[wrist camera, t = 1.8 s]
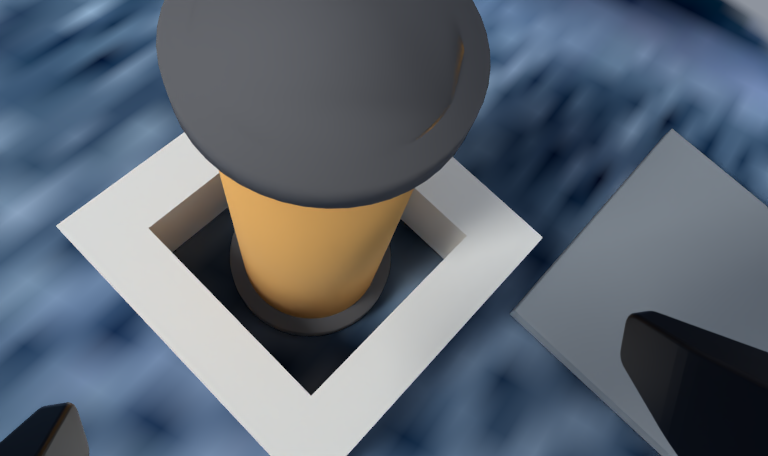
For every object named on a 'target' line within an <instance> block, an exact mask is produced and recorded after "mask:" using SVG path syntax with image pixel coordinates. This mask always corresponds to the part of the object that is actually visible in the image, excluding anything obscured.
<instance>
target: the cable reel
mask: <svg viewBox="0 0 768 456" xmlns="http://www.w3.org/2000/svg"><path fill="white" fill-rule="evenodd" d="M156 48H157V57H158V65H159V68H160V72H161V75H162V79H163V82H164V85H165V88H166V91H167V94H168V97H169V99H170V102H171V105H172V108H173V110H174V113H175V115H176V117H177V119H178V121H179V123H180V125H181V127H182V129H183V130H184V132H185V133H186V135H187V137H188V138H189V140H190V141H191V143H192V144H193V145H194V146H195V147H196V148H197V150H198V151H199V152H200V153H201V154H202V155H203V156H204V157H205V159H206V160H208V161H209V162H210V163H211V164H212V165H213V166H215V167H216V168H217V169H218V170H219V174H220V177H221V181H222V185H223V188H224V192H225V196H226V199H227V203H228V207H229V210H230V214H231V218H232V221H233V225H234V229H235V231H234V234H233V237H232V241H231V247H230V265H231V272H232V275H233V279H234V282H235V285H236V288H237V290H238V292H239V294H240V296H241V298H242V300H243V301H244V303H245V304H246V306H247V307H248V308H249V309H250V310H251V311H252V313H253V314H254V315H256V316H257V317H258V318H259V319H260V320H261V321H263V322H264V323H266V324H267V325H269V326H271V327H273V328H275V329H277V330H279V331H282V332H285V333H288V334H292V335H297V336H308V337H312V336H323V335H328V334H332V333H335V332H338V331H341V330H343V329H345V328H347V327H349V326H351V325H353V324H354V323H356V322H357V321H359V320H360V319H361V318H362V317H363V316H364V315H365V314H367V312H368V311H369V310H370V309H371V308H372V307H373V305H374V304H375V302H376V301H377V299H378V298H379V296H380V294H381V292H382V290H383V288H384V286H385V284H386V281H387V278H388V275H389V270H390V265H391V250H390V241H391V238H392V236H393V234H394V232H395V230H396V227H397V225H398V223H399V221H400V219H401V216H402V214H403V212H404V210H405V207H406V205H407V203H408V201H409V199H410V196H411V194H412V192H413V190H414V188H415V187H417V186H419V185H420V184H422V183H424V182H425V181H427V180H428V179H429V178H431V177H432V176H433V175H434V174H436V173H437V172H438V171H439V170H441V169H442V168H443V167H444V165H445V164H446V163H447V162H448V161H449V160H450V159H451V158H452V157H453V156H454V154H455V153H456V151H457V150H458V148H459V147H460V145H461V144H462V142H463V141H464V139H465V137H466V136H467V134H468V132H469V130H470V128H471V126H472V124H473V123H474V121H475V119H476V117H477V115H478V113H479V110H480V108H481V106H482V104H483V102H484V98H485V95H486V91H487V88H488V84H489V75H490V49H489V43H488V38H487V33H486V30H485V27H484V24H483V21H482V18H481V16H480V14H479V12H478V10H477V8H476V6H475V4H474V2H473V0H165V1H164V3H163V6H162V8H161V12H160V16H159V21H158V25H157V40H156Z"/></svg>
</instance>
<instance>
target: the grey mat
mask: <svg viewBox="0 0 768 456" xmlns="http://www.w3.org/2000/svg"><path fill="white" fill-rule="evenodd" d="M643 311H656V312H658V313H661V314H664V315H667V316H669V317H672V318H675V319H678V320H680V321H683V322H686V323H689V324H691V325H694V326H697V327H700V328H703V329H705V330H708V331H711V332H714V333H716V334H719V335H722V336H725V337H727V338H730V339H733V340H736V341H738V342H741V343H744V344H747V345H749V346H752V347H755V348H758V349H761V350H763V351H766V352H768V207H767V206H766V205H765V204H763V203H762V202H761V201H760V200H759V199H757V198H756V197H755V196H754V195H752V194H751V193H750V192H749V191H748V190H746V189H745V188H744V187H743V186H741V185H740V184H739V183H738V182H737V181H735V180H734V179H733V178H732V177H731V176H729V175H728V174H727V173H726V172H724V171H723V170H722V169H721V168H720V167H718V166H717V165H716V164H715V163H713V162H712V161H711V160H710V159H709V158H707V157H706V156H705V155H704V154H702V153H701V152H700V151H699V150H698V149H696V148H695V147H694V146H693V145H691V144H690V143H689V142H688V141H687V140H685V139H684V138H683V137H682V136H681V135H679V134H678V133H677V132H676V131H674V130H673V129H671V130H670V131H669V132H668V133H667V134H666V135H664V137H663V138H662V139H661V140H660V141H659V142H658V143H657V145H656V146H655V147H654V148H653V149H652V150H651V151H650V153H649V154H648V155H647V156H646V157H645V158H644V160H643V161H642V162H641V163H640V164H639V165H638V166H637V168H636V169H635V170H634V171H633V172H632V173H631V175H630V176H629V177H628V178H627V179H626V180H625V181H624V183H623V184H622V185H621V186H620V187H619V188H618V189H617V191H616V192H615V193H614V194H613V195H612V196H611V198H610V199H609V200H608V201H607V202H606V203H605V204H604V206H603V207H602V208H601V209H600V210H599V211H598V212H597V214H596V215H595V216H594V217H593V218H592V219H591V221H590V222H589V223H588V224H587V225H586V226H585V227H584V229H583V230H582V231H581V232H580V233H579V234H578V236H577V237H576V238H575V239H574V240H573V241H572V242H571V244H570V245H569V246H568V247H567V248H566V249H565V250H564V252H563V253H562V254H561V255H560V256H559V257H558V259H557V260H556V261H555V262H554V263H553V264H552V265H551V267H550V268H549V269H548V270H547V271H546V272H545V273H544V275H543V276H542V277H541V278H540V279H539V280H538V282H537V283H536V284H535V285H534V286H533V287H532V288H531V290H530V291H529V292H528V293H527V294H526V295H525V297H524V298H523V299H522V300H521V301H520V302H519V303H518V305H517V306H516V307H515V308H514V309H513V310H512V311H511V313H510V315H511V316H512V317H513V318H514V319H515V320H517V321H518V322H519V323H520V324H521V325H522V326H523V327H524V328H525V329H526V330H527V331H528V332H529V333H530V334H532V335H533V336H534V337H535V338H536V339H537V340H538V341H539V342H540V343H541V344H542V345H543V346H544V347H546V348H547V349H548V350H549V351H550V352H551V353H552V354H553V355H554V356H555V357H556V358H557V359H558V360H559V361H561V362H562V363H563V364H564V365H565V366H566V367H567V368H568V369H569V370H570V371H571V372H572V373H573V374H575V375H576V376H577V377H578V378H579V379H580V380H581V381H582V382H583V383H584V384H585V385H586V386H587V387H588V388H590V389H591V390H592V391H593V392H594V393H595V394H596V395H597V396H598V397H599V398H600V399H601V400H602V401H603V402H605V403H606V404H607V405H608V406H609V407H610V408H611V409H612V410H613V411H614V412H615V413H616V414H617V415H619V416H620V417H621V418H622V419H623V420H624V421H625V422H626V423H627V424H628V425H629V426H630V427H631V428H632V429H634V430H635V431H636V432H637V433H638V434H639V435H640V436H641V437H642V438H643V439H644V440H645V441H646V442H648V443H649V444H650V445H651V446H652V447H653V448H654V449H655V450H656V451H657V452H658V453H659V454H660V455H661V456H677V454H676V453H675V451H674V450H673V448H672V447H671V446H670V444H669V443H668V441H667V440H666V438H665V436H664V435H663V433H662V432H661V430H660V428H659V427H658V425H657V423H656V422H655V420H654V418H653V416H652V415H651V413H650V411H649V410H648V408H647V406H646V405H645V403H644V401H643V399H642V398H641V396H640V394H639V393H638V391H637V389H636V387H635V386H634V384H633V382H632V381H631V379H630V377H629V375H628V374H627V372H626V370H625V369H624V367H623V365H622V362H621V358H620V349H621V344H622V338H623V333H624V328H625V322H626V319H627V317H628V316H629V315H630V314H632V313H637V312H643Z"/></svg>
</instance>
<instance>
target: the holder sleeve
mask: <svg viewBox="0 0 768 456" xmlns="http://www.w3.org/2000/svg"><path fill="white" fill-rule="evenodd" d="M226 208H228V203H227V199H226V196H225V192H224V188H223V185H222V181H221V177H220V174H219V170H218V169H217V168H216V167H215V166H213V165H212V164H211V163H210V162H209V161H208V160H206V159H205V157H204V156H203V155H202V154H201V153H200V152H199V151H198V150H197V148H196V147H195V146H194V145H193V144H192V143H191V141H190V140H189V138H188V137H187V135H186V133H185V132H184V133H183V134H181V135H180V136H179V137H177V138H176V139H174V140H173V141H172V142H170V143H169V144H168V145H166V146H165V147H163V148H162V149H161V150H159V151H158V152H157V153H155V154H154V155H153V156H151V157H150V158H148V159H147V160H146V161H144V162H143V163H142V164H140V165H139V166H137V167H136V168H135V169H133V170H132V171H131V172H129V173H128V174H126V175H125V176H124V177H122V178H121V179H120V180H118V181H117V182H115V183H114V184H113V185H111V186H110V187H109V188H107V189H106V190H105V191H103V192H102V193H100V194H99V195H98V196H96V197H95V198H94V199H92V200H91V201H89V202H88V203H87V204H85V205H84V206H83V207H81V208H80V209H78V210H77V211H76V212H74V213H73V214H72V215H70V216H69V217H67V218H66V219H65V220H63V221H62V222H61V223H59V224H58V225H57V226H56V227H57V228H58V229H59V230H60V231H61V232H62V233H63V234H64V235H65V236H66V237H67V238H68V240H69V241H70V242H71V243H72V244H73V245H74V246H75V247H76V248H77V249H78V250H79V251H80V252H81V253H82V255H83V256H84V257H85V258H86V259H87V260H88V261H89V262H90V263H91V264H92V265H93V266H94V267H95V268H96V269H97V271H98V272H99V273H100V274H101V275H102V276H103V277H104V278H105V279H106V280H107V281H108V282H109V283H110V284H111V286H112V287H113V288H114V289H115V290H116V291H117V292H118V293H119V294H120V295H121V296H122V297H123V298H124V299H125V301H126V302H127V303H128V304H129V305H130V306H131V307H132V308H133V309H134V310H135V311H136V312H137V313H138V314H139V315H140V317H141V318H142V319H143V320H144V321H145V322H146V323H147V324H148V325H149V326H150V327H151V328H152V329H153V330H154V332H155V333H156V334H157V335H158V336H159V337H160V338H161V339H162V340H163V341H164V342H165V343H166V344H167V345H168V346H169V348H170V349H171V350H172V351H173V352H174V353H175V354H176V355H177V356H178V357H179V358H180V359H181V360H182V361H183V363H184V364H185V365H186V366H187V367H188V368H189V369H190V370H191V371H192V372H193V373H194V374H195V375H196V376H197V378H198V379H199V380H200V381H201V382H202V383H203V384H204V385H205V386H206V387H207V388H208V389H209V390H210V391H211V392H212V394H213V395H214V396H215V397H216V398H217V399H218V400H219V401H220V402H221V403H222V404H223V405H224V406H225V407H226V409H227V410H228V411H229V412H230V413H231V414H232V415H233V416H234V417H235V418H236V419H237V420H238V421H239V422H240V424H241V425H242V426H243V427H244V428H245V429H246V430H247V431H248V432H249V433H250V434H251V435H252V436H253V437H254V438H255V440H256V441H257V442H258V443H259V444H260V445H261V446H262V447H263V448H264V449H265V450H266V451H267V452H268V453H269V455H270V456H347V455H348V454H349V453H350V451H351V450H352V449H353V448H354V447H355V446H356V445H357V444H358V443H359V441H360V440H361V439H362V438H363V437H364V436H365V435H366V434H367V433H368V431H369V430H370V429H371V428H372V427H373V426H374V425H375V424H376V423H377V421H378V420H379V419H380V418H381V417H382V416H383V415H384V414H385V413H386V411H387V410H388V409H389V408H390V407H391V406H392V405H393V404H394V402H395V401H396V400H397V399H398V398H399V397H400V396H401V395H402V394H403V392H404V391H405V390H406V389H407V388H408V387H409V386H410V385H411V384H412V382H413V381H414V380H415V379H416V378H417V377H418V376H419V375H420V374H421V372H422V371H423V370H424V369H425V368H426V367H427V366H428V365H429V364H430V362H431V361H432V360H433V359H434V358H435V357H436V356H437V355H438V354H439V352H440V351H441V350H442V349H443V348H444V347H445V346H446V345H447V344H448V342H449V341H450V340H451V339H452V338H453V337H454V336H455V335H456V334H457V332H458V331H459V330H460V329H461V328H462V327H463V326H464V325H465V324H466V322H467V321H468V320H469V319H470V318H471V317H472V316H473V315H474V314H475V312H476V311H477V310H478V309H479V308H480V307H481V306H482V305H483V304H484V302H485V301H486V300H487V299H488V298H489V297H490V296H491V295H492V294H493V292H494V291H495V290H496V289H497V288H498V287H499V286H500V285H501V284H502V282H503V281H504V280H505V279H506V278H507V277H508V276H509V275H510V274H511V272H512V271H513V270H514V269H515V268H516V267H517V266H518V265H519V264H520V262H521V261H522V260H523V259H524V258H525V257H526V256H527V255H528V254H529V252H530V251H531V250H532V249H533V248H534V247H535V246H536V245H537V244H538V242H539V241H540V240H541V239H542V238H543V237H542V236H541V235H540V234H538V233H537V232H536V231H535V230H534V229H533V228H532V227H531V226H529V225H528V224H527V223H526V222H525V221H524V220H523V219H522V218H521V217H519V216H518V215H517V214H516V213H515V212H514V211H513V210H512V209H510V208H509V207H508V206H507V205H506V204H505V203H504V202H503V201H502V200H500V199H499V198H498V197H497V196H496V195H495V194H494V193H493V192H491V191H490V190H489V189H488V188H487V187H486V186H485V185H484V184H482V183H481V182H480V181H479V180H478V179H477V178H476V177H475V176H474V175H472V174H471V173H470V172H469V171H468V170H467V169H466V168H465V167H463V166H462V165H461V164H460V163H459V162H458V161H457V160H456V159H455V158H453V157H452V158H451V159H450V160H449V161H448V162H447V163H446V164H445V165H444V167H443V168H442V169H441V170H439V171H438V172H437V173H436V174H434V175H433V176H432V177H431V178H429V179H428V180H427V181H425V182H424V183H422V184H420V185H419V186H417V187H415V188H414V190H413V192H412V194H411V196H410V199H409V201H408V203H407V205H406V207H405V210H404V212H403V214H402V216H401V220H402V221H404V222H405V223H406V224H407V225H408V226H409V227H410V228H411V229H412V230H413V231H414V232H415V233H416V234H417V235H419V236H420V237H421V238H422V239H423V240H424V241H425V242H426V243H427V244H428V245H429V246H430V247H431V248H432V249H434V250H435V251H436V252H437V253H438V254H439V255H440V256H441V257H442V258H443V259H444V260H443V261H442V262H441V263H440V264H439V265H438V266H437V267H436V268H435V269H434V270H433V271H432V272H431V273H430V274H429V275H428V276H427V277H426V278H425V279H424V280H423V281H422V282H421V283H420V284H419V285H418V286H417V287H416V288H415V290H414V291H413V292H412V293H411V294H410V295H409V296H408V297H407V298H406V299H405V300H404V301H403V302H402V303H401V304H400V305H399V306H398V307H397V308H396V309H395V310H394V311H393V312H392V313H391V314H390V315H389V316H388V317H387V318H386V319H385V320H384V321H383V322H382V323H381V324H380V326H379V327H378V328H377V329H376V330H375V331H374V332H373V333H372V334H371V335H370V336H369V337H368V338H367V339H366V340H365V341H364V342H363V343H362V344H361V345H360V346H359V347H358V348H357V349H356V350H355V351H354V352H353V353H352V354H351V355H350V356H349V357H348V358H347V359H346V360H345V361H344V363H343V364H342V365H341V366H340V367H339V368H338V369H337V370H336V371H335V372H334V373H333V374H332V375H331V376H330V377H329V378H328V379H327V380H326V381H325V382H324V383H323V384H322V385H321V386H320V387H319V388H318V389H317V390H316V391H315V392H314V393H313V394H312V395H310V394H309V393H308V392H307V391H306V390H305V389H304V388H303V387H302V386H301V385H300V384H299V383H298V382H297V381H296V380H295V379H294V378H293V377H292V376H291V375H290V374H289V373H288V372H287V371H286V370H285V369H284V368H283V366H282V365H281V364H280V363H279V362H278V361H277V360H276V359H275V358H274V357H273V356H272V355H271V354H270V353H269V352H268V351H267V350H266V349H265V348H264V347H263V346H262V345H261V344H260V343H259V342H258V341H257V340H256V339H255V338H254V337H253V336H252V335H251V333H250V332H249V331H248V330H247V329H246V328H245V327H244V326H243V325H242V324H241V323H240V322H239V321H238V320H237V319H236V318H235V317H234V316H233V315H232V314H231V313H230V312H229V311H228V310H227V309H226V308H225V307H224V306H223V305H222V304H221V303H220V302H219V301H218V299H217V298H216V297H215V296H214V295H213V294H212V293H211V292H210V291H209V290H208V289H207V288H206V287H205V286H204V285H203V284H202V283H201V282H200V281H199V280H198V279H197V278H196V277H195V276H194V275H193V274H192V273H191V272H190V271H189V270H188V269H187V268H186V266H185V265H184V264H183V263H182V262H181V261H180V260H179V259H178V258H177V257H176V256H175V255H174V254H173V253H172V252H174V251H175V250H176V249H177V248H178V247H180V246H181V245H182V244H183V243H185V242H186V241H187V240H188V239H190V238H191V237H192V236H193V235H194V234H196V233H197V232H198V231H199V230H201V229H202V228H203V227H204V226H205V225H207V224H208V223H209V222H210V221H212V220H213V219H214V218H215V217H217V216H218V215H219V214H220V213H221V212H223V211H224V210H225V209H226Z"/></svg>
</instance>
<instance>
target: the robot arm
mask: <svg viewBox="0 0 768 456" xmlns="http://www.w3.org/2000/svg"><path fill="white" fill-rule="evenodd" d="M620 358H621V362H622V365H623V367H624V369H625V370H626V372H627V374H628V375H629V377H630V379H631V381H632V382H633V384H634V386H635V387H636V389H637V391H638V393H639V394H640V396H641V398H642V399H643V401H644V403H645V405H646V406H647V408H648V410H649V411H650V413H651V415H652V416H653V418H654V420H655V422H656V423H657V425H658V427H659V428H660V430H661V432H662V433H663V435H664V436H665V438H666V440H667V441H668V443H669V444H670V446H671V447H672V448H673V450H674V451H675V453H676V454H677V456H768V352H766V351H763V350H761V349H758V348H755V347H752V346H749V345H747V344H744V343H741V342H738V341H736V340H733V339H730V338H727V337H725V336H722V335H719V334H716V333H714V332H711V331H708V330H705V329H703V328H700V327H697V326H694V325H691V324H689V323H686V322H683V321H680V320H678V319H675V318H672V317H669V316H667V315H664V314H661V313H658V312H656V311H643V312H637V313H632V314H630V315H629V316H628V317H627V319H626V322H625V328H624V333H623V338H622V344H621V349H620ZM0 456H89V447H88V442H87V439H86V436H85V433H84V429H83V426H82V423H81V420H80V417H79V414H78V411H77V408H76V407H75V405H74V404H72V403H70V402H67V403H61V404H54V405H48V406H44V407H41V408H40V409H38V410H37V411H36V412H35V413H34V414H32V415H31V416H30V417H29V418H28V419H27V420H26V421H24V422H23V423H22V424H21V425H20V426H19V427H18V428H16V429H15V430H14V431H13V432H12V433H11V434H9V435H8V436H7V437H6V438H5V439H4V440H3V441H1V442H0Z"/></svg>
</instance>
